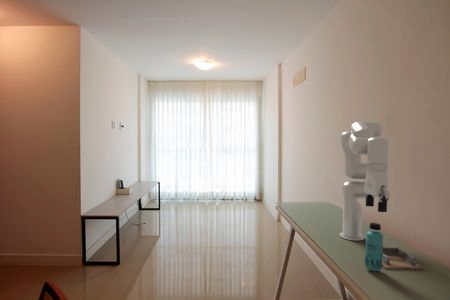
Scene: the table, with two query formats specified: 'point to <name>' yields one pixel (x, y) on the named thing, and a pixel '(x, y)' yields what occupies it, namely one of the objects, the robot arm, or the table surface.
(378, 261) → the beverage bottle
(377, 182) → the robot arm
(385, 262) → the tray
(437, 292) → the table surface
